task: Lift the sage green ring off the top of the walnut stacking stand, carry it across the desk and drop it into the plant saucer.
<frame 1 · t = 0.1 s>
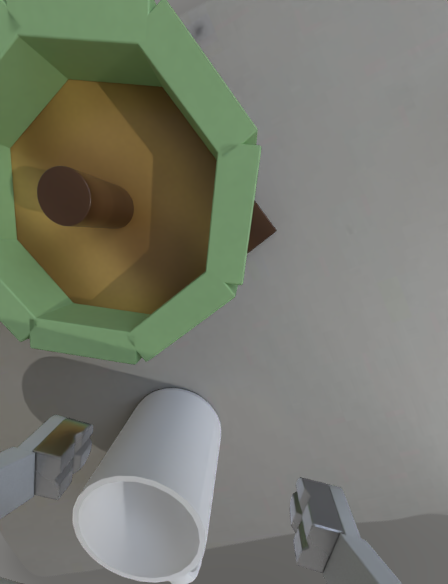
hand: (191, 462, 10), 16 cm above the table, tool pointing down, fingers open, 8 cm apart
ring: (98, 203, 13), point 10 cm above the table, touching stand
mug: (183, 433, 28), on the table
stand: (164, 217, 23), on the table
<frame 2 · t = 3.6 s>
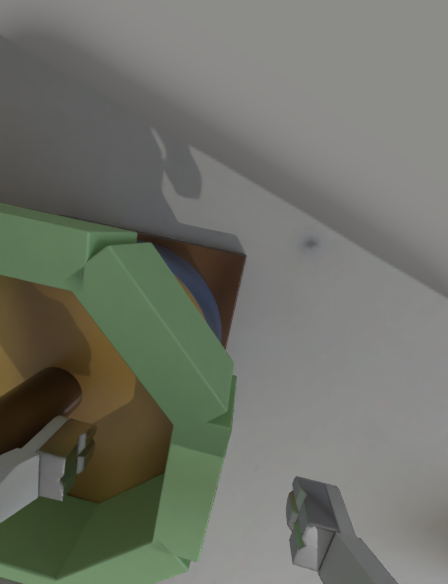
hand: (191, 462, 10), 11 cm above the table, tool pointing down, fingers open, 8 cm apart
ring: (30, 412, 10), point 10 cm above the table, touching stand
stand: (140, 323, 20), on the table
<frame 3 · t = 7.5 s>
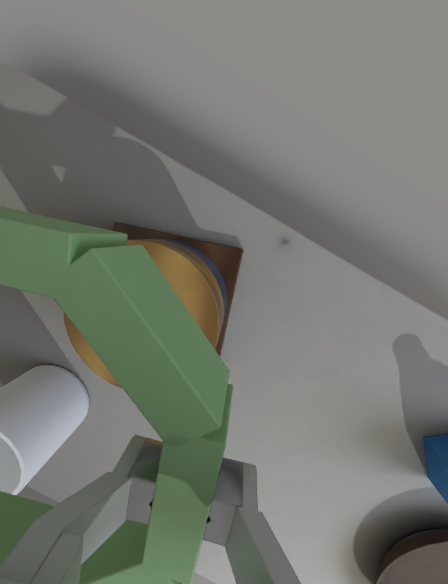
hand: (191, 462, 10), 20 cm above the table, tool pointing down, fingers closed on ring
ring: (15, 423, 10), point 21 cm above the table, touching gripper
mug: (54, 402, 35), on the table
plant saucer: (440, 568, 35), on the table
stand: (171, 296, 30), on the table
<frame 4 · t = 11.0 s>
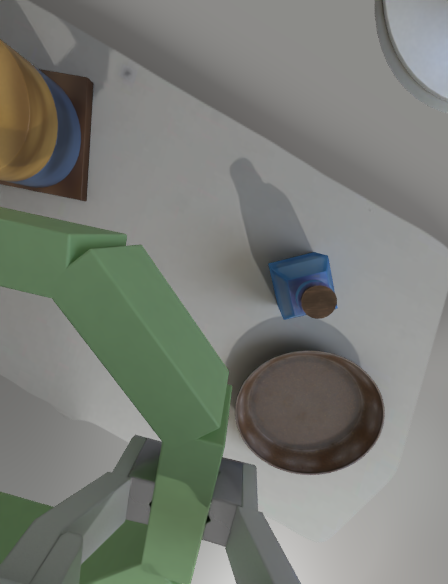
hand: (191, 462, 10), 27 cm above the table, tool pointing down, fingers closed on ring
perfume bottle: (295, 279, 35), on the table
ring: (14, 424, 10), point 27 cm above the table, touching gripper
plant saucer: (302, 401, 39), on the table
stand: (39, 135, 34), on the table
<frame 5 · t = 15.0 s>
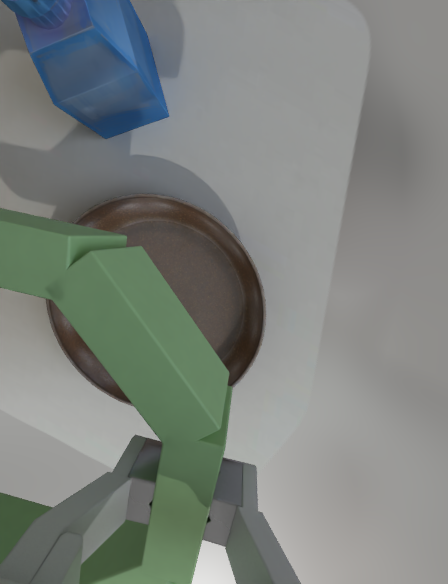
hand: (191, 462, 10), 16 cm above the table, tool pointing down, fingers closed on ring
perfume bottle: (126, 90, 22), on the table
ring: (14, 425, 10), point 17 cm above the table, touching gripper
plant saucer: (163, 304, 26), on the table
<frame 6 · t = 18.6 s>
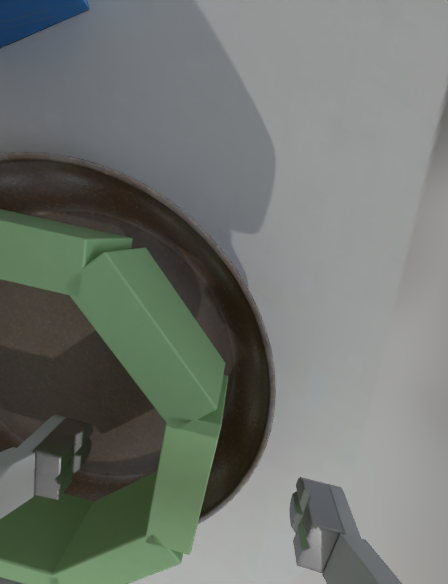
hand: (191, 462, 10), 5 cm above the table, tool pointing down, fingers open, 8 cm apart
ring: (28, 411, 10), point 5 cm above the table, touching plant saucer
plant saucer: (99, 354, 15), on the table, touching ring
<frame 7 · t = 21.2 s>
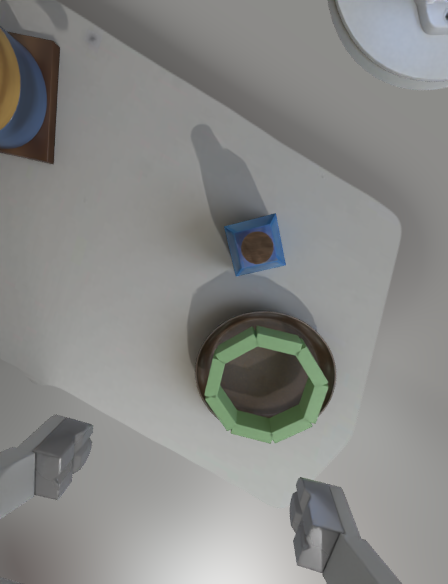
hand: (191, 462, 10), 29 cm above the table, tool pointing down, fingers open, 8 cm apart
perfume bottle: (253, 244, 36), on the table
ring: (263, 385, 35), point 5 cm above the table, touching plant saucer
plant saucer: (262, 366, 40), on the table, touching ring
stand: (7, 98, 35), on the table
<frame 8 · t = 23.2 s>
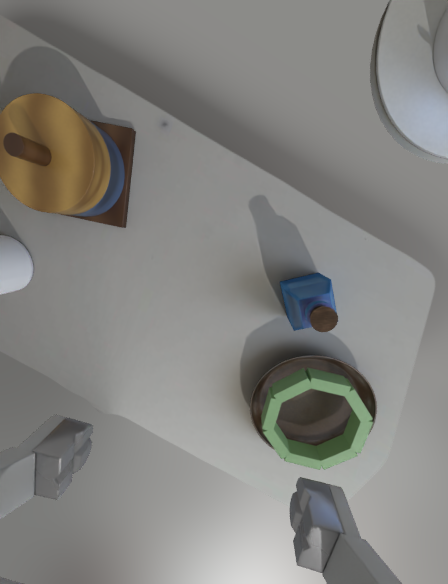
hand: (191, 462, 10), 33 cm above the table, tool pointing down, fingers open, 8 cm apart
perfume bottle: (302, 295, 41), on the table
ring: (313, 419, 40), point 5 cm above the table, touching plant saucer
mug: (8, 269, 45), on the table
plant saucer: (307, 398, 45), on the table, touching ring
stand: (87, 173, 40), on the table
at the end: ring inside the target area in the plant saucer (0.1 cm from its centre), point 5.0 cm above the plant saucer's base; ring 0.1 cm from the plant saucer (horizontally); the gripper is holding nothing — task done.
